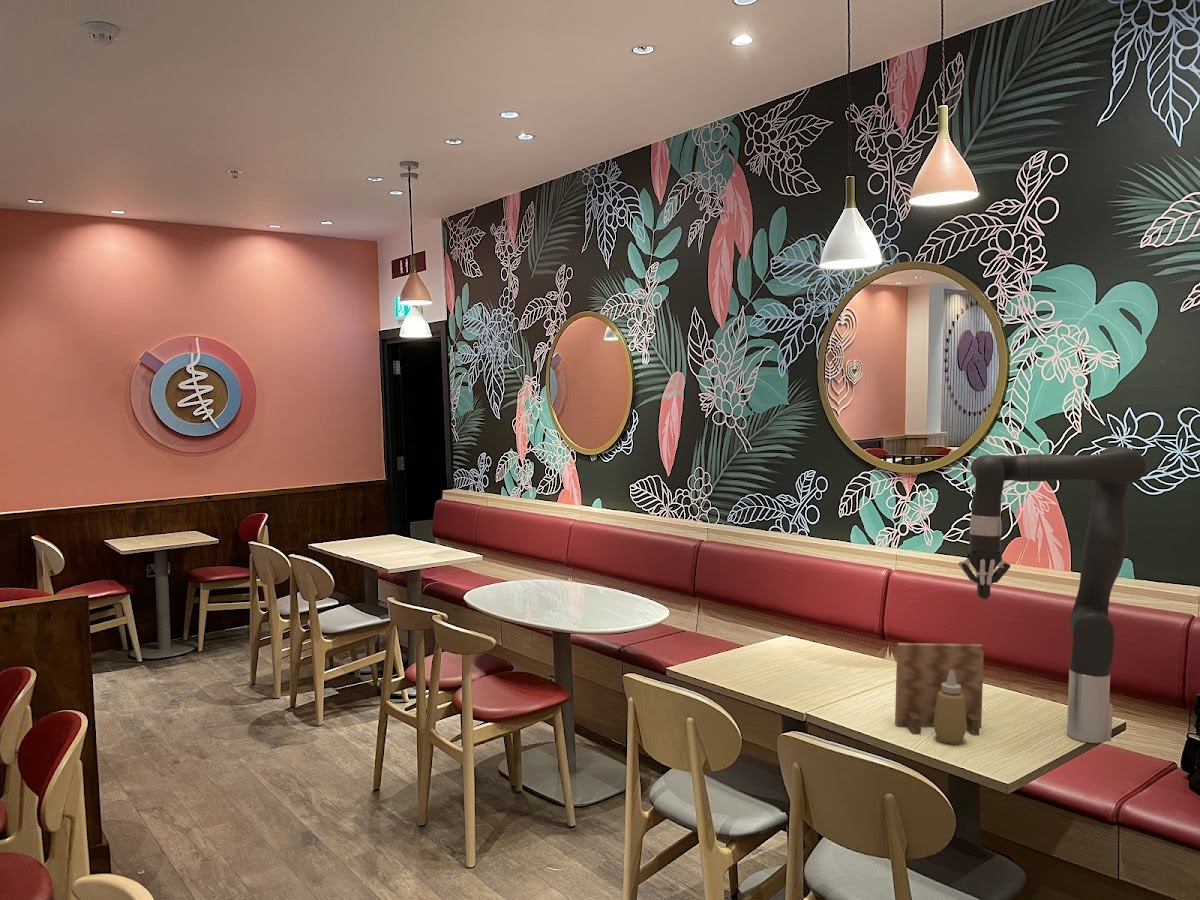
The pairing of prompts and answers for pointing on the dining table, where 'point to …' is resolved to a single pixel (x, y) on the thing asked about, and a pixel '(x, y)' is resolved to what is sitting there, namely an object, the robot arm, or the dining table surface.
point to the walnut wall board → (936, 682)
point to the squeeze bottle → (950, 712)
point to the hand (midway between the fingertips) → (983, 598)
